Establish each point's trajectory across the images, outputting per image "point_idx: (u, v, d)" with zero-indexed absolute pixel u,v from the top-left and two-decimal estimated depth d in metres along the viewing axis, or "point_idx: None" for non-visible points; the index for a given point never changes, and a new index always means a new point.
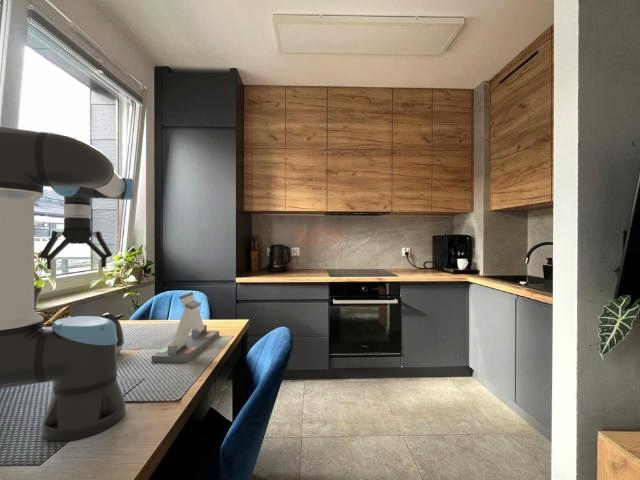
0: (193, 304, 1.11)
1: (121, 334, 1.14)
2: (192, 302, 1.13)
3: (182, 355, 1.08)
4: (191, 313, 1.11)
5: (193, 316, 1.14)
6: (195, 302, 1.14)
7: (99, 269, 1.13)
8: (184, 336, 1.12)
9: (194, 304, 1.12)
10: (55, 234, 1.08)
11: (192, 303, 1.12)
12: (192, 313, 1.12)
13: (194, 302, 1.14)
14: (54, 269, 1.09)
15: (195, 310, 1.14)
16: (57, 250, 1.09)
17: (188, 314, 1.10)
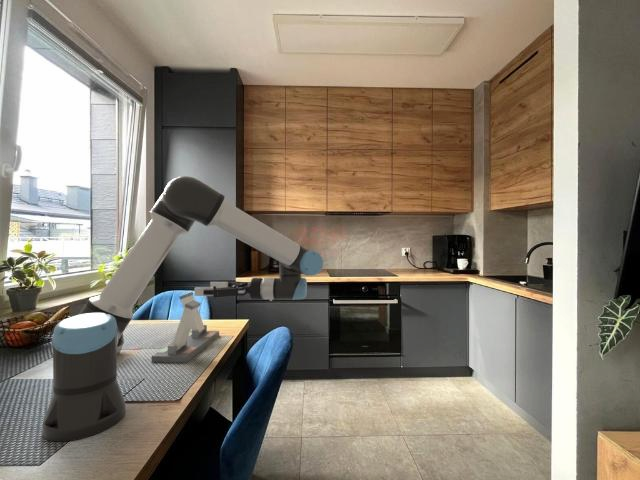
0: (193, 304, 1.11)
1: None
2: (192, 302, 1.13)
3: (182, 355, 1.08)
4: (191, 313, 1.11)
5: (193, 316, 1.14)
6: (195, 302, 1.14)
7: (203, 287, 1.06)
8: (184, 336, 1.12)
9: (194, 304, 1.12)
10: (250, 282, 1.18)
11: (192, 303, 1.12)
12: (192, 313, 1.12)
13: (194, 302, 1.14)
14: (218, 285, 1.19)
15: (195, 310, 1.14)
16: (234, 283, 1.17)
17: (188, 314, 1.10)
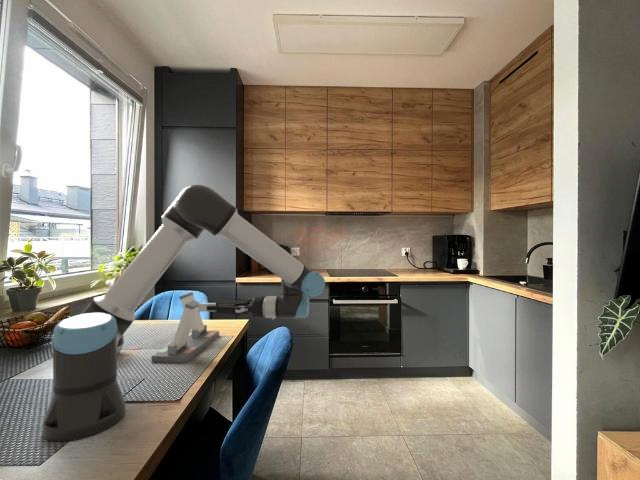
0: (193, 304, 1.11)
1: None
2: (192, 302, 1.13)
3: (182, 355, 1.08)
4: (191, 313, 1.11)
5: (193, 316, 1.14)
6: (195, 302, 1.14)
7: (206, 303, 1.12)
8: (184, 336, 1.12)
9: (194, 304, 1.12)
10: (247, 300, 1.17)
11: (192, 303, 1.12)
12: (192, 313, 1.12)
13: (194, 302, 1.14)
14: None
15: (195, 310, 1.14)
16: (229, 303, 1.13)
17: (188, 314, 1.10)
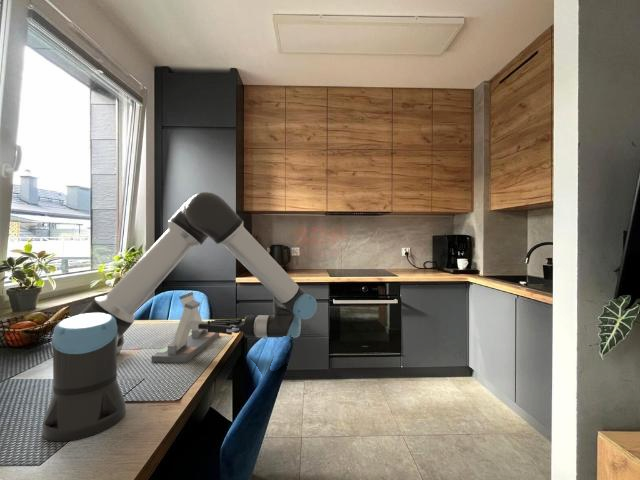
0: (193, 304, 1.11)
1: None
2: (192, 302, 1.13)
3: (182, 355, 1.08)
4: (191, 313, 1.11)
5: (193, 316, 1.14)
6: (195, 302, 1.14)
7: (198, 321, 1.12)
8: (184, 336, 1.12)
9: (194, 304, 1.12)
10: (239, 318, 1.17)
11: (192, 302, 1.12)
12: (192, 313, 1.12)
13: (194, 302, 1.14)
14: None
15: (195, 310, 1.14)
16: (221, 321, 1.13)
17: (188, 314, 1.10)
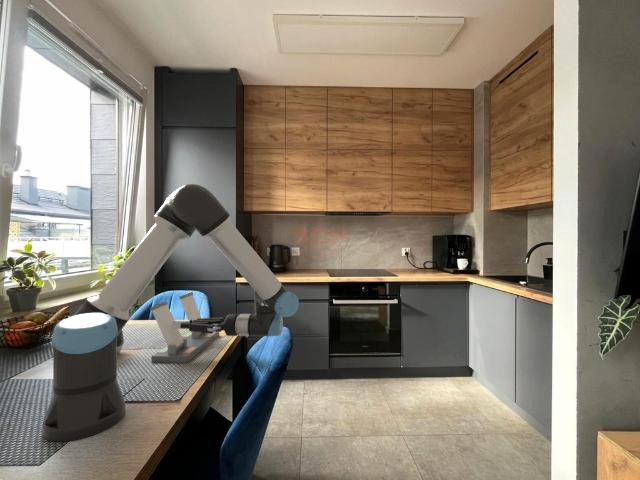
0: (158, 304, 1.12)
1: (121, 334, 1.14)
2: None
3: (182, 355, 1.08)
4: (162, 311, 1.11)
5: (168, 314, 1.14)
6: None
7: (180, 320, 1.13)
8: (173, 334, 1.12)
9: None
10: (222, 317, 1.17)
11: None
12: (164, 311, 1.13)
13: None
14: None
15: (165, 308, 1.14)
16: (203, 320, 1.14)
17: (159, 313, 1.10)
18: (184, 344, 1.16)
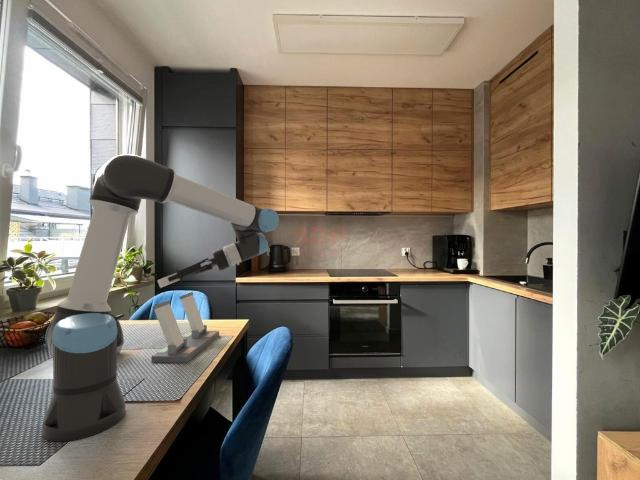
0: (160, 303, 1.12)
1: (121, 334, 1.14)
2: None
3: (182, 355, 1.08)
4: (164, 311, 1.11)
5: (170, 314, 1.14)
6: None
7: None
8: (174, 334, 1.12)
9: (161, 303, 1.12)
10: None
11: None
12: (166, 310, 1.13)
13: None
14: None
15: (168, 308, 1.14)
16: None
17: (161, 312, 1.10)
18: (184, 344, 1.16)
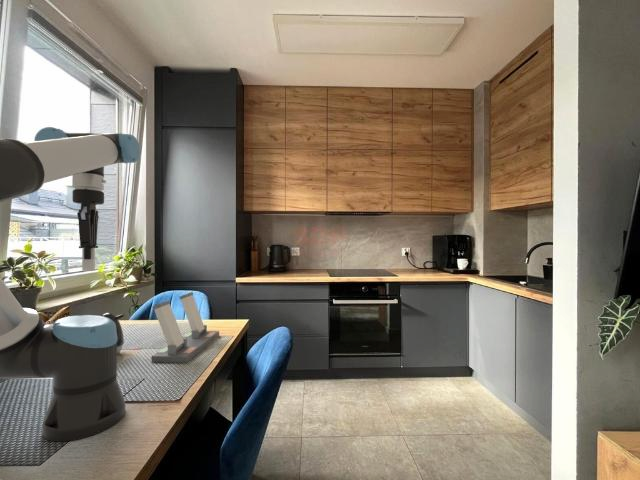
0: (160, 303, 1.12)
1: (121, 334, 1.14)
2: None
3: (182, 355, 1.08)
4: (164, 311, 1.11)
5: (170, 314, 1.14)
6: None
7: None
8: (174, 334, 1.12)
9: (161, 303, 1.12)
10: None
11: None
12: (166, 310, 1.13)
13: None
14: None
15: (168, 308, 1.14)
16: None
17: (161, 312, 1.10)
18: (184, 344, 1.16)
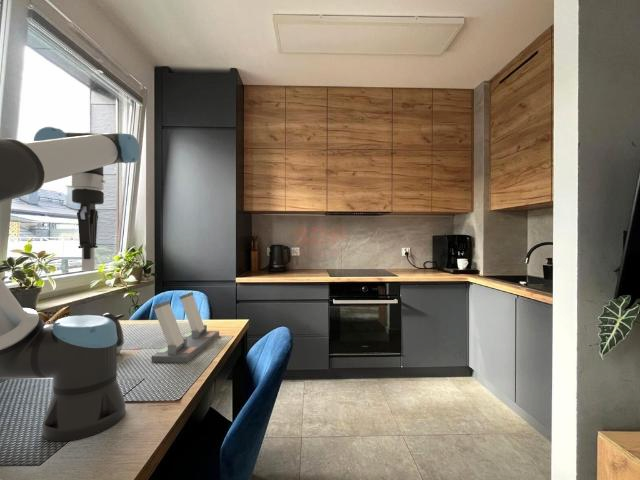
0: (160, 303, 1.12)
1: (121, 334, 1.14)
2: None
3: (182, 355, 1.08)
4: (164, 311, 1.11)
5: (170, 314, 1.14)
6: None
7: (82, 261, 0.92)
8: (174, 334, 1.12)
9: (161, 303, 1.12)
10: None
11: None
12: (166, 310, 1.13)
13: None
14: None
15: (168, 308, 1.14)
16: None
17: (161, 312, 1.10)
18: (184, 344, 1.16)
